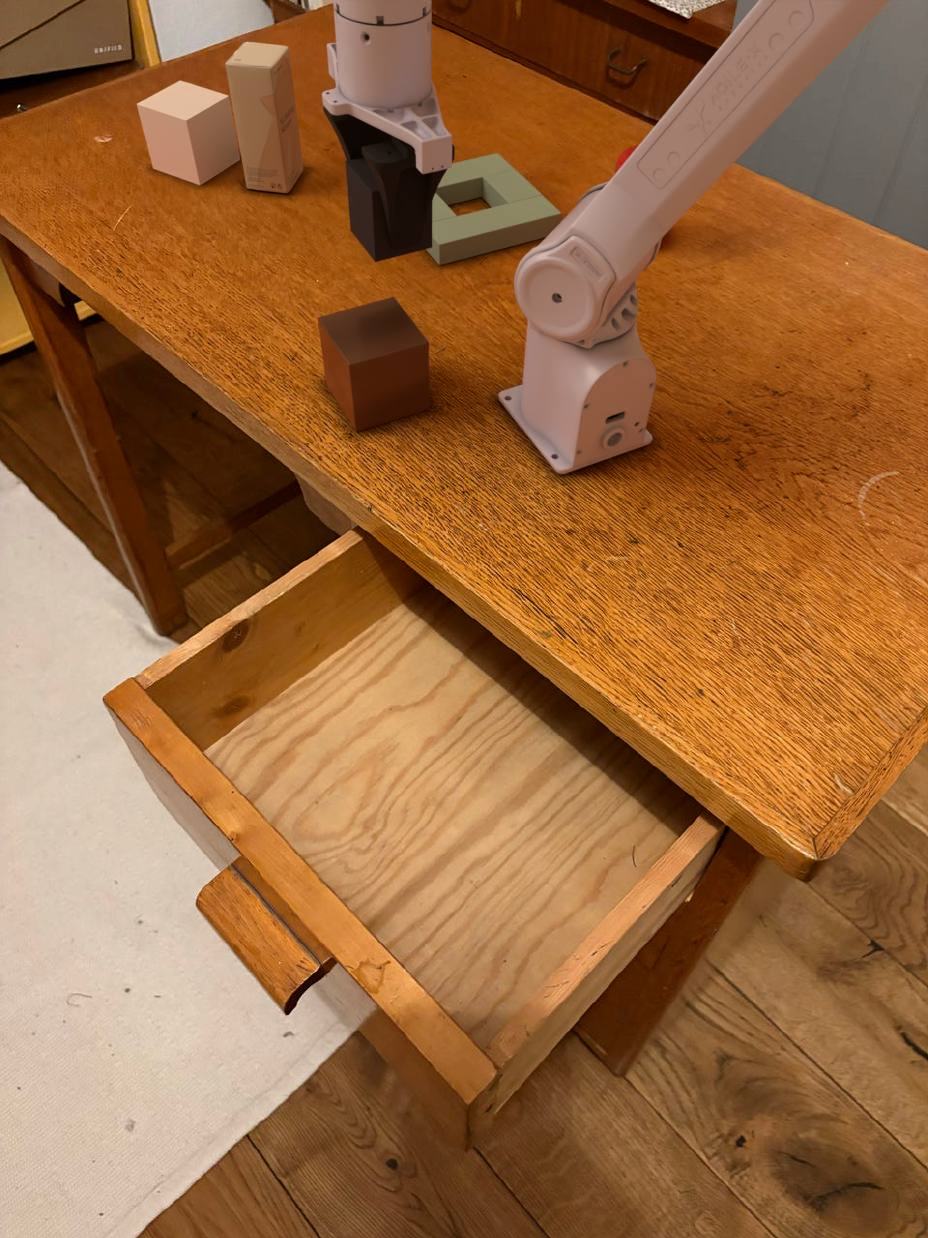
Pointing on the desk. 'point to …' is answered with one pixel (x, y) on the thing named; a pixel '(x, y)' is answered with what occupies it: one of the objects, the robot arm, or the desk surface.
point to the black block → (374, 214)
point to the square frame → (487, 210)
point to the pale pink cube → (189, 132)
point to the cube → (375, 363)
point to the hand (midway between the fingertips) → (390, 226)
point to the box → (265, 116)
